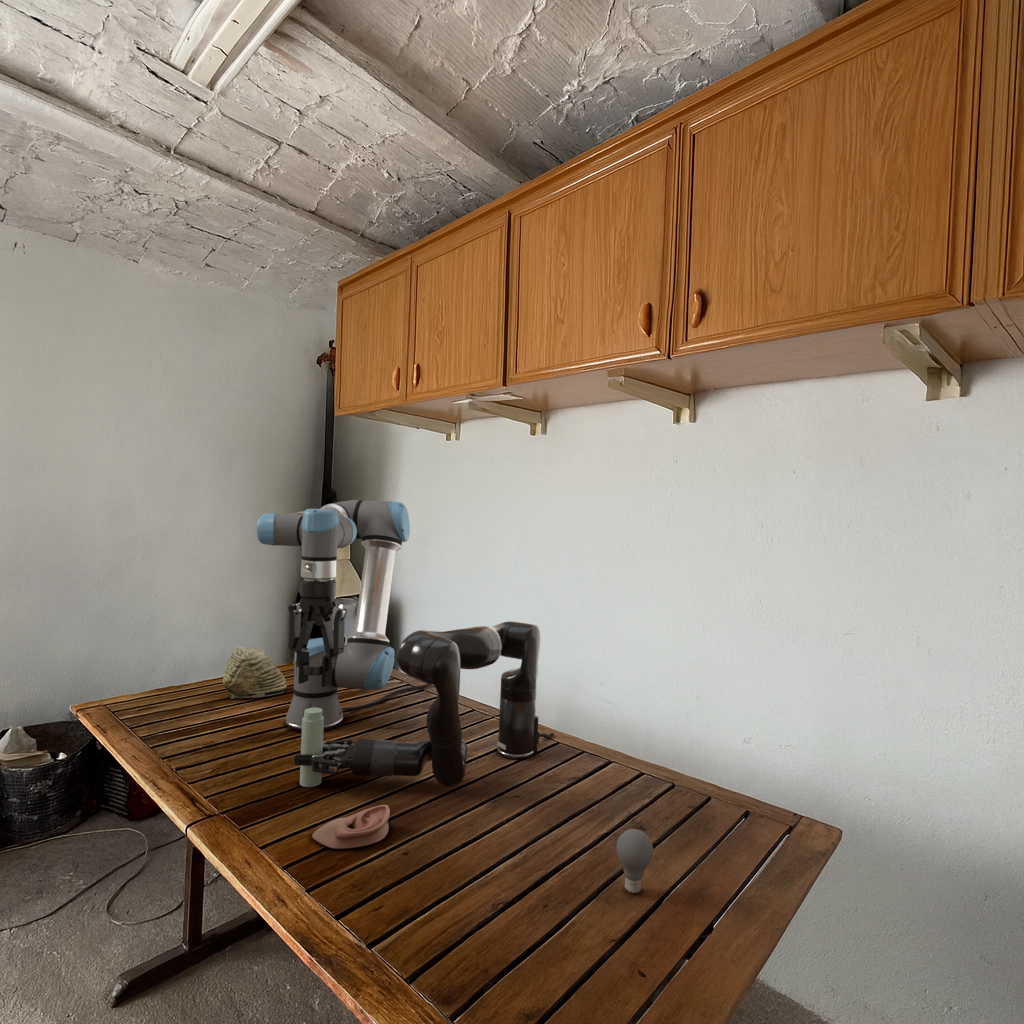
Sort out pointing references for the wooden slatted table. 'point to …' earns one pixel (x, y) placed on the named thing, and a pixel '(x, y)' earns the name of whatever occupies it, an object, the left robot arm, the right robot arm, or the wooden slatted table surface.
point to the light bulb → (634, 857)
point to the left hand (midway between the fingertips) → (314, 683)
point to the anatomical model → (355, 829)
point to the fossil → (252, 674)
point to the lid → (312, 668)
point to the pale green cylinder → (311, 744)
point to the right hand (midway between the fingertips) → (299, 754)
